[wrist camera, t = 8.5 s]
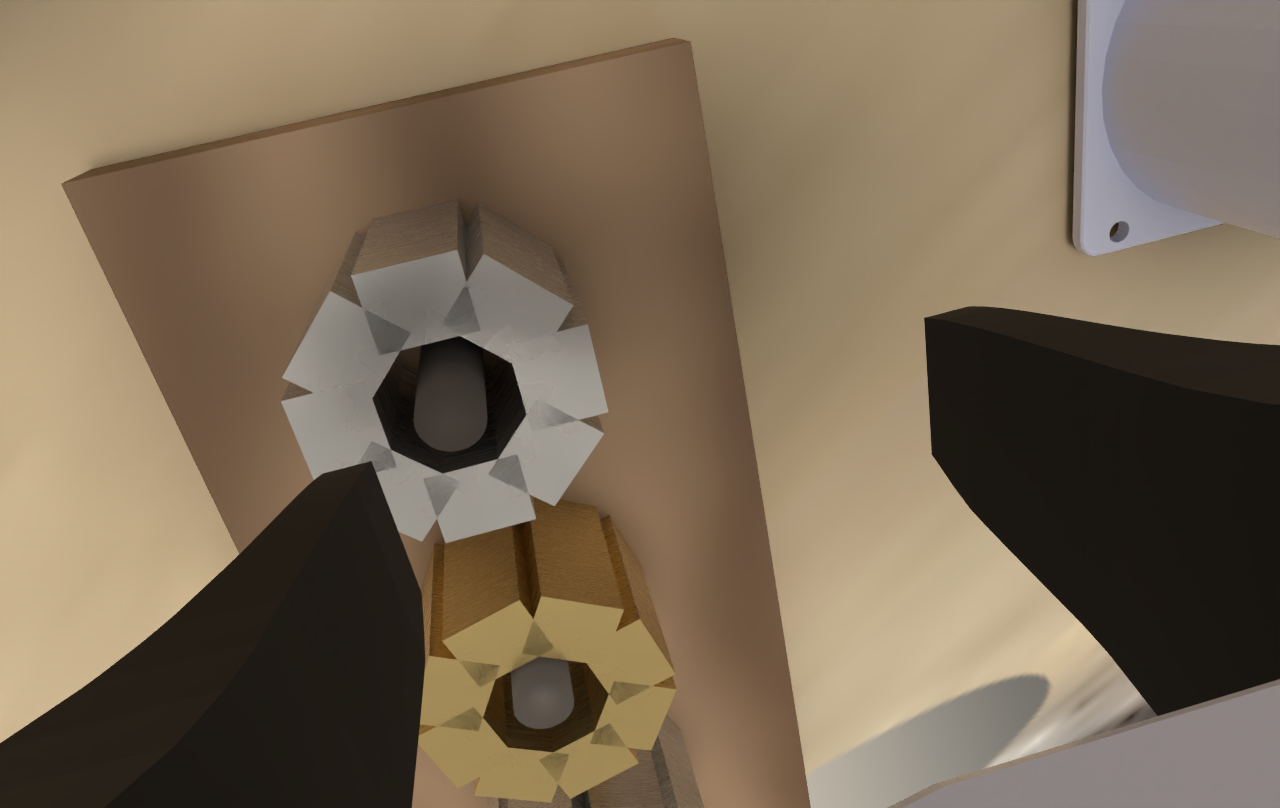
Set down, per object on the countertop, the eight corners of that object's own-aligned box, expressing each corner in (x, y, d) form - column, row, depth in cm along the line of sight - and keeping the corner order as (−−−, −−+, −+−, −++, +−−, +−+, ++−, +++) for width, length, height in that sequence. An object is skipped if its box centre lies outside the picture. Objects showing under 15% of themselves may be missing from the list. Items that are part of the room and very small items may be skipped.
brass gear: (664, 519, 22) (704, 622, 18) (600, 685, 24) (626, 809, 20) (452, 478, 20) (450, 581, 17) (401, 659, 22) (390, 787, 19)
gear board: (673, 38, 19) (760, 55, 13) (794, 771, 28) (872, 952, 23) (91, 169, 18) (-68, 245, 12) (421, 883, 27) (412, 1099, 22)
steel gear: (543, 178, 18) (563, 224, 14) (597, 406, 20) (628, 494, 17) (284, 239, 18) (239, 302, 14) (370, 465, 20) (350, 568, 16)
